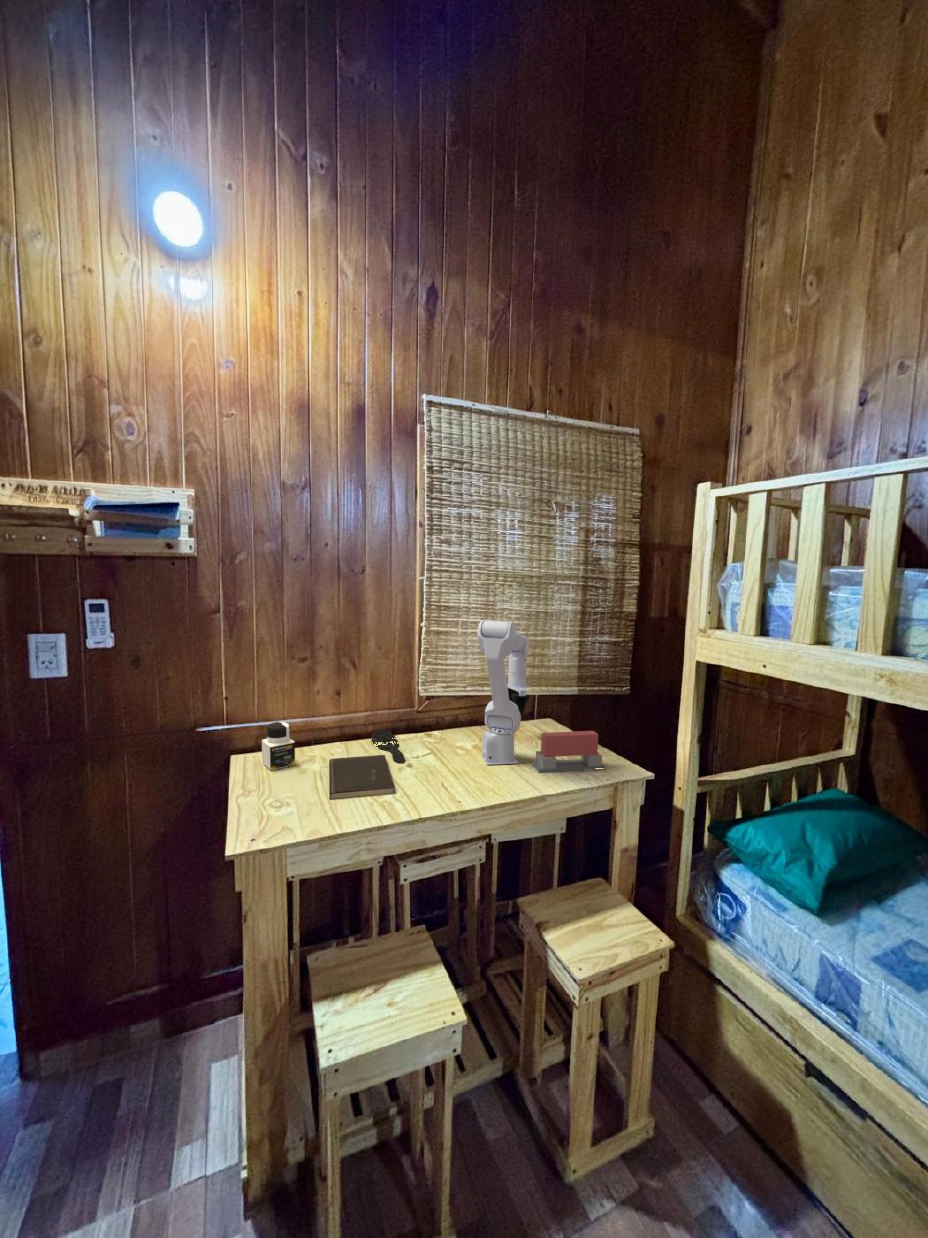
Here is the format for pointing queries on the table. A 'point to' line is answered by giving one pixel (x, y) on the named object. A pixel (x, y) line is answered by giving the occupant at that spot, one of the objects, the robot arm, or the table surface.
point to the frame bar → (569, 743)
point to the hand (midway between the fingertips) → (516, 712)
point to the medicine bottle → (278, 747)
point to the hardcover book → (359, 776)
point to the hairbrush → (387, 737)
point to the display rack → (566, 763)
